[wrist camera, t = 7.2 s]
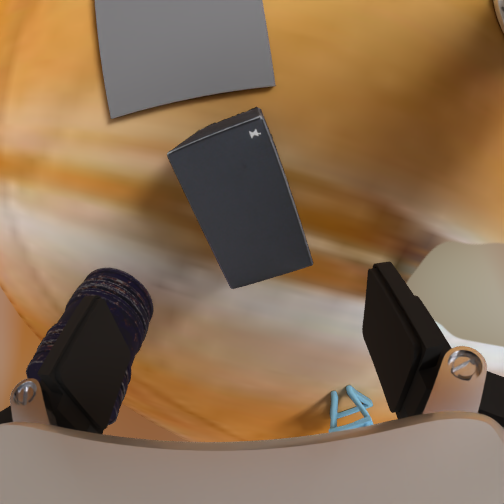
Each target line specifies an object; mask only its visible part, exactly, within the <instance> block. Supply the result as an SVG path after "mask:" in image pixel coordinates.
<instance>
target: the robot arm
mask: <svg viewBox="0 0 504 504" xmlns="http://www.w3.org/2000/svg"><path fill="white" fill-rule="evenodd" d="M493 2H494V7H495V12H496V15H497V18H498V21H499V24H500V26H501V29H502V31H503V33H504V0H493ZM362 330H363V337H364V340H365V342H366V345H367V348H368V350H369V353H370V356H371V358H372V361H373V364H374V366H375V369H376V372H377V375H378V377H379V380H380V383H381V386H382V389H383V391H384V394H385V397H386V400H387V403H388V406H389V409H390V411H391V412H392V413H393V412H396V415H397V418H398V419H397V420H392V421H387V422H383V423H378V424H374V425H369V426H364V427H359V428H354V429H348V430H342V431H336V432H330V433H324V434H318V435H310V436H303V437H294V438H285V439H274V440H261V441H244V442H174V441H158V440H146V439H135V438H125V437H117V436H110V435H103V434H102V433H103V430H104V429H106V428H107V426H108V423H109V420H110V417H111V414H112V411H113V408H114V404H115V401H116V398H117V395H118V393H119V390H120V387H121V384H122V381H123V378H124V375H125V372H126V370H127V367H128V364H129V361H130V358H131V353H130V350H129V348H128V346H127V344H126V342H125V340H124V338H123V336H122V334H121V332H120V330H119V328H118V326H117V324H116V322H115V320H114V318H113V316H112V314H111V312H110V309H109V307H108V305H107V303H106V301H105V300H104V299H102V298H101V297H100V296H99V295H92V296H85V297H84V298H83V299H82V300H81V302H80V303H79V305H78V306H77V308H76V310H75V311H74V313H73V314H72V316H71V317H70V319H69V320H68V322H67V324H66V325H65V327H64V328H63V330H62V332H61V333H60V335H59V337H58V338H57V340H56V342H55V343H54V345H53V347H52V348H51V350H50V352H49V353H48V355H47V357H46V359H45V360H44V362H43V364H42V366H41V368H40V369H39V371H38V373H37V374H38V376H39V377H40V378H41V381H40V383H39V382H38V381H37V380H36V379H33V378H28V379H25V380H23V381H21V382H20V383H18V384H17V385H16V387H15V388H14V389H13V391H12V393H11V397H10V403H11V406H9V407H8V408H6V409H4V410H3V411H1V412H0V504H504V377H502V376H499V375H496V374H493V373H491V372H488V371H487V364H486V361H485V359H484V357H483V356H482V355H481V354H480V353H479V352H478V351H477V350H475V349H473V348H470V347H465V346H459V347H454V348H451V347H450V345H449V343H448V342H447V340H446V339H445V337H444V335H443V334H442V332H441V330H440V329H439V327H438V326H437V324H436V323H435V321H434V319H433V318H432V316H431V315H430V313H429V312H428V310H427V309H426V307H425V306H424V304H423V303H422V301H421V300H420V299H419V297H418V296H414V295H413V293H412V292H411V290H410V289H409V287H408V286H407V284H406V283H405V281H404V280H403V279H402V277H401V276H400V274H399V273H398V271H397V270H396V269H395V267H394V266H393V264H392V263H391V262H383V263H376V264H374V265H373V268H372V269H369V270H368V277H367V290H366V300H365V310H364V319H363V328H362Z"/></svg>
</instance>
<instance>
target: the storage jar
mask: <svg viewBox="0 0 504 504" xmlns="http://www.w3.org/2000/svg"><path fill="white" fill-rule="evenodd" d="M92 295H99V296H100V297H101V298H102V299H104V300H105V301H106V303H107V305H108V307H109V309H110V312H111V314H112V316H113V318H114V320H115V322H116V324H117V326H118V328H119V330H120V332H121V334H122V336H123V338H124V340H125V342H126V344H127V346H128V348H129V350H130V353H131V358H130V361H129V364H128V367H127V370H126V372H125V375H124V378H123V381H122V384H121V387H120V390H119V393H118V395H117V398H116V401H115V404H114V408H113V411H112V414H111V417H110V420H109V423H108V425H110V424H112V423H114V422H115V421H116V419H117V416H118V413H119V408H120V406H121V403H122V401H123V400H124V397H125V394H126V391H127V388H128V384H129V382H130V379H131V366H132V363H133V361H134V358H135V355H136V354H137V353H138V351H139V350H140V348H141V345H142V342H143V341H144V339H145V336H146V334H147V331H148V326H149V322H150V320H151V318H152V315H153V303H152V300H151V297H150V295H149V293H148V291H147V290H146V289H145V287H144V286H143V285H142V284H141V283H140V282H139V281H138V280H137V279H135V278H134V277H133V276H131V275H129V274H128V273H126V272H123V271H121V270H118V269H113V268H101V269H97V270H95V271H93V272H91V273H90V274H89V275H88V276H87V278H86V279H85V280H84V282H83V283H82V284H81V285H80V286H79V287H78V288H77V290H76V291H75V292H74V294H73V296H72V297H71V299H70V300H69V302H68V304H67V305H66V309H65V312H64V314H63V315H62V317H61V318H60V320H59V321H58V323H57V324H55V325H54V326H52V327H51V328H50V329H49V330H48V332H47V334H46V337H44V338H43V340H42V341H41V343H40V345H39V346H38V348H37V352H36V353H35V355H34V357H33V359H32V360H31V362H30V363H29V365H28V367H27V370H26V374H27V378H33V379H36V380H37V381H38V382H39V383H40V381H41V378H40V377H39V376H38V374H37V373H38V371H39V369H40V368H41V366H42V364H43V362H44V360H45V359H46V357H47V355H48V353H49V352H50V350H51V348H52V347H53V345H54V343H55V342H56V340H57V338H58V337H59V335H60V333H61V332H62V330H63V328H64V327H65V325H66V324H67V322H68V320H69V319H70V317H71V316H72V314H73V313H74V311H75V310H76V308H77V306H78V305H79V303H80V302H81V300H82V299H83V298H84V297H85V296H92Z"/></svg>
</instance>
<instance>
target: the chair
mask: <svg viewBox="0 0 504 504" xmlns="http://www.w3.org/2000/svg"><path fill="white" fill-rule="evenodd" d="M346 391H347V394H348V395H349V397H350V398H351V399H352V400H353V402H354V403H355V404H356V406H357V407H354V408H352V409H349V410H346V411H343V412H340V413H337V408H338V396H337V392H336V391H332V392H331V407H330V418H331V424H330V429H329V433H330V432H336V431H342V430H348V429H354V428H359V427H364V426H369V425H373V422H372V420H371V417H370V415H369V414H368V412H367V411H366V408H369V407H372V406H373V403H372V401H371V400H370V399H369V398H367V397H366V396H364V395H363V394H361V393H360V392H358V391H357V390H355V389H354V388H353V387H352V386H350V385H348V386H346ZM360 401H361V402H363V403H365V404H363V405H362V403H361V402H360ZM358 411H361V413H362V414H363V416H364V417H365V418H362V419H360V420H358V421H355V422H353V423H350V424H347V425H344V426H339V427H337V419H338V418H341V417H344V416H347V415H350V414H353V413H356V412H358Z"/></svg>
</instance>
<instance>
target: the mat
mask: <svg viewBox="0 0 504 504" xmlns="http://www.w3.org/2000/svg"><path fill="white" fill-rule="evenodd" d="M95 10H96V22H97V32H98V40H99V49H100V56H101V64H102V70H103V77H104V83H105V89H106V95H107V101H108V106H109V111H110V116H111V119H113V118H117V117H120V116H123V115H127V114H130V113H134V112H137V111H141V110H145V109H149V108H152V107H156V106H161V105H165V104H169V103H173V102H178V101H182V100H187V99H192V98H197V97H202V96H208V95H213V94H219V93H225V92H232V91H239V90H246V89H253V88H262V87H271V86H275V79H274V72H273V65H272V58H271V52H270V45H269V39H268V32H267V26H266V20H265V14H264V8H263V3H262V0H95Z"/></svg>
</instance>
